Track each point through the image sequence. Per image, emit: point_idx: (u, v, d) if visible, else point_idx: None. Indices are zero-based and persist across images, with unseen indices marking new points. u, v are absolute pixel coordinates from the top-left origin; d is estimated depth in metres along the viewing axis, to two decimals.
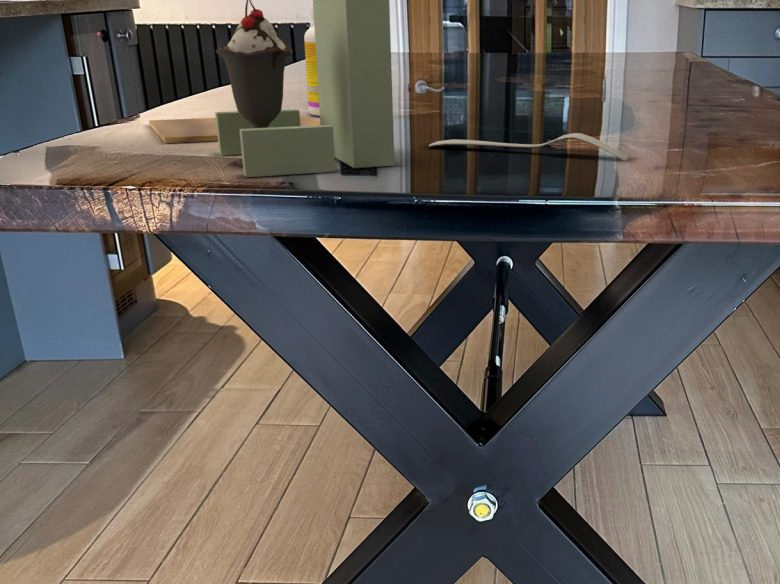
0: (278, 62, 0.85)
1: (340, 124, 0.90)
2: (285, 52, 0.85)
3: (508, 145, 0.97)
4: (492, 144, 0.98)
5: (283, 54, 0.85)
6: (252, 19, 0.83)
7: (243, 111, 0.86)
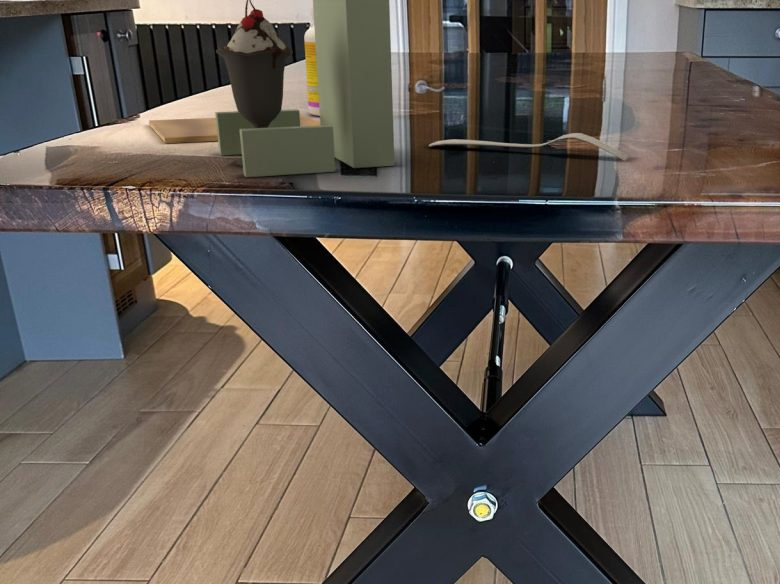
0: (278, 62, 0.85)
1: (340, 124, 0.90)
2: (285, 52, 0.85)
3: (508, 145, 0.97)
4: (492, 144, 0.98)
5: (283, 54, 0.85)
6: (252, 19, 0.83)
7: (243, 111, 0.86)
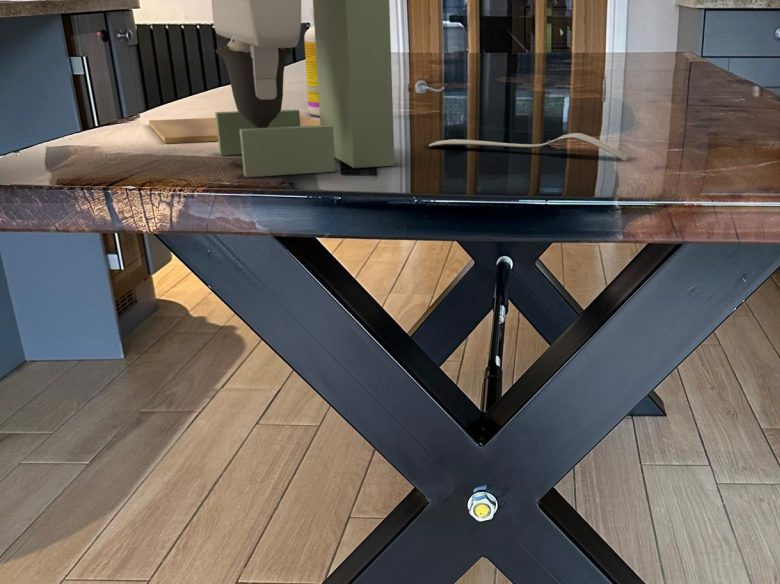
0: (278, 61, 0.85)
1: (340, 124, 0.90)
2: (285, 51, 0.85)
3: (508, 145, 0.97)
4: (492, 144, 0.98)
5: (283, 53, 0.85)
6: None
7: (243, 111, 0.86)
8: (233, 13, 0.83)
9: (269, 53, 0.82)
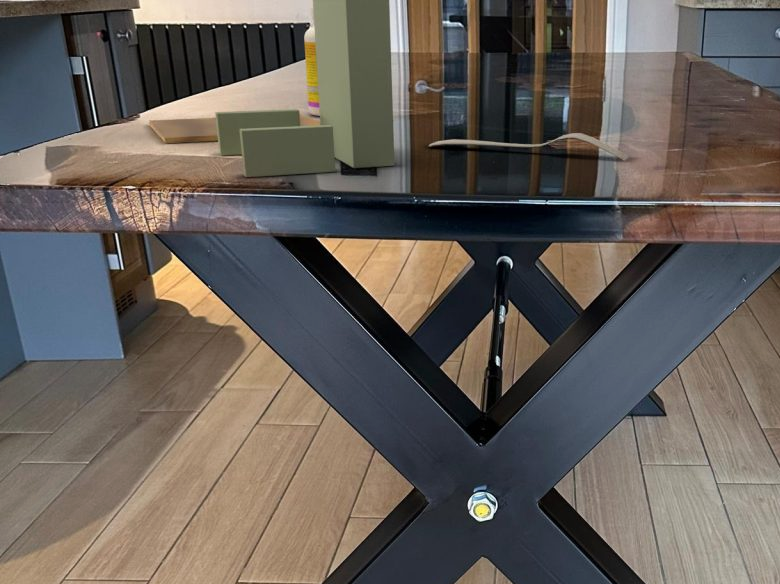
0: None
1: (340, 124, 0.90)
2: None
3: (508, 145, 0.97)
4: (492, 144, 0.98)
5: None
6: None
7: None
8: None
9: None
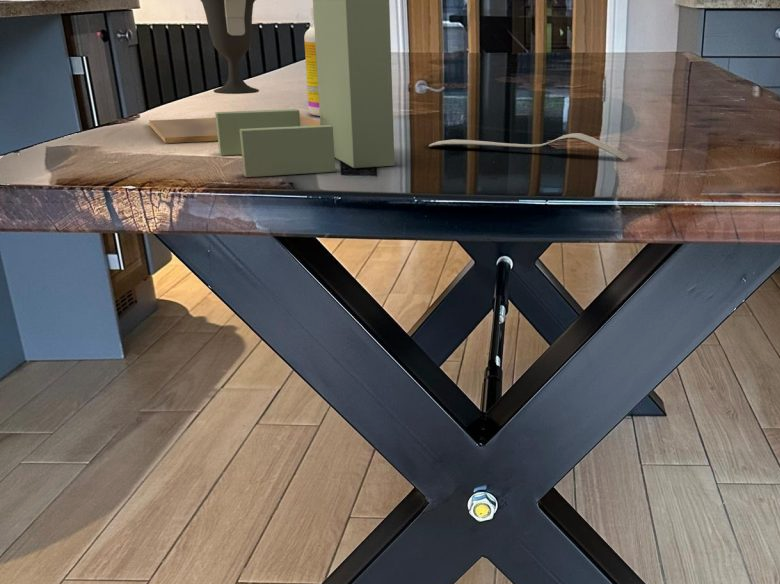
0: (247, 4, 1.02)
1: (340, 124, 0.90)
2: None
3: (508, 145, 0.97)
4: (492, 144, 0.98)
5: None
6: None
7: (218, 46, 1.04)
8: None
9: None
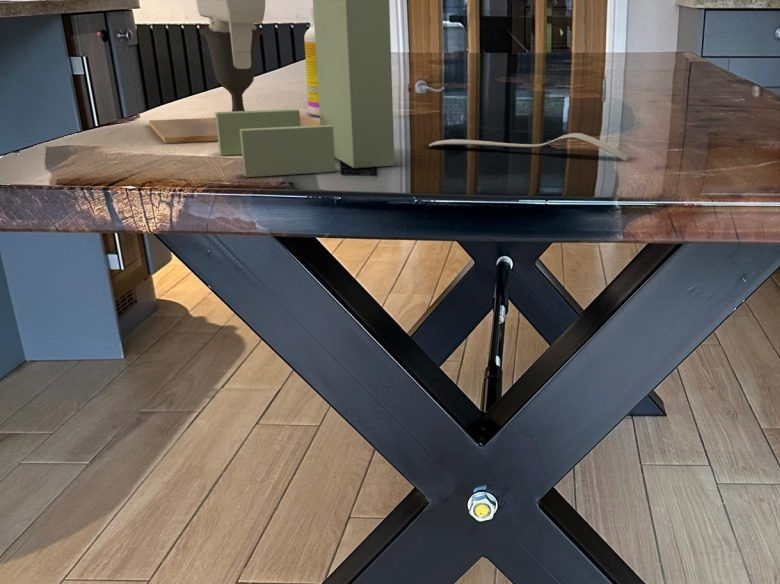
0: None
1: (340, 124, 0.90)
2: (256, 32, 1.03)
3: (508, 145, 0.97)
4: (492, 144, 0.98)
5: (254, 34, 1.03)
6: None
7: (221, 81, 1.05)
8: None
9: (244, 30, 0.99)
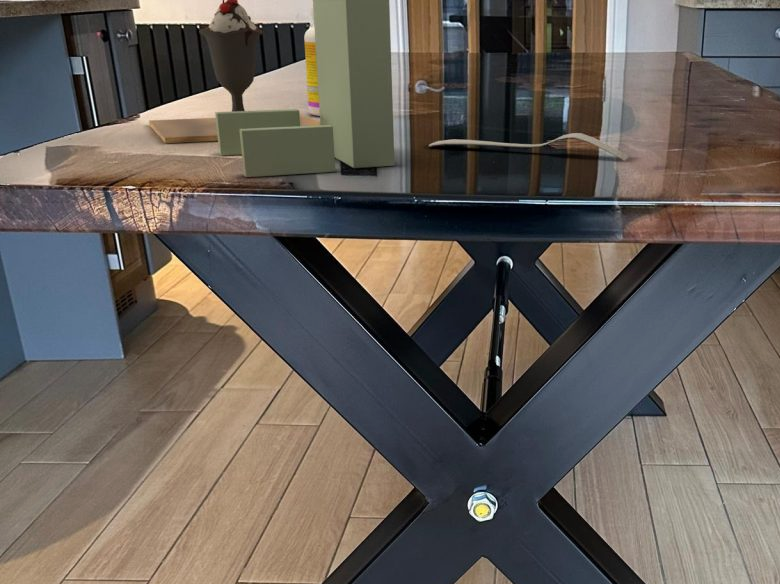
0: (250, 40, 1.04)
1: (340, 124, 0.90)
2: (256, 32, 1.03)
3: (508, 145, 0.97)
4: (492, 144, 0.98)
5: (254, 34, 1.03)
6: (228, 5, 1.02)
7: (221, 81, 1.05)
8: None
9: None
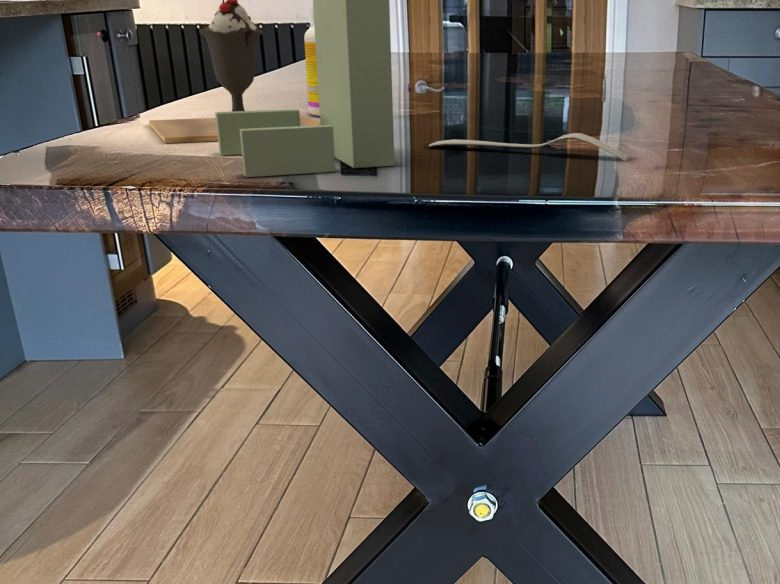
0: (250, 40, 1.04)
1: (340, 124, 0.90)
2: (256, 32, 1.03)
3: (508, 145, 0.97)
4: (492, 144, 0.98)
5: (254, 34, 1.03)
6: (228, 5, 1.02)
7: (221, 81, 1.05)
8: None
9: None
